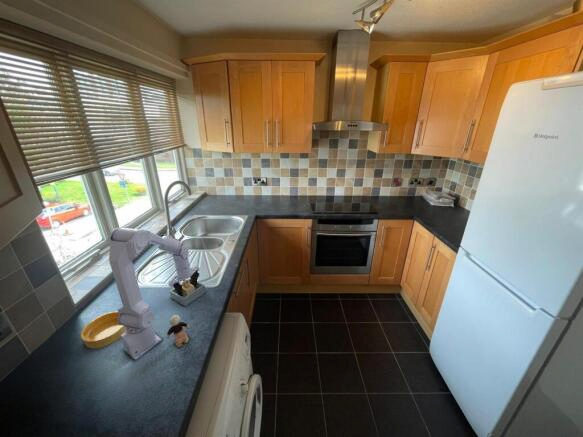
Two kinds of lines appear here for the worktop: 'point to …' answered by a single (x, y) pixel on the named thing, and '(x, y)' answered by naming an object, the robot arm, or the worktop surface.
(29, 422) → the worktop surface
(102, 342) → the bowl
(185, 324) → the grandmother figurine
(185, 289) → the toy
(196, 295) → the tub
